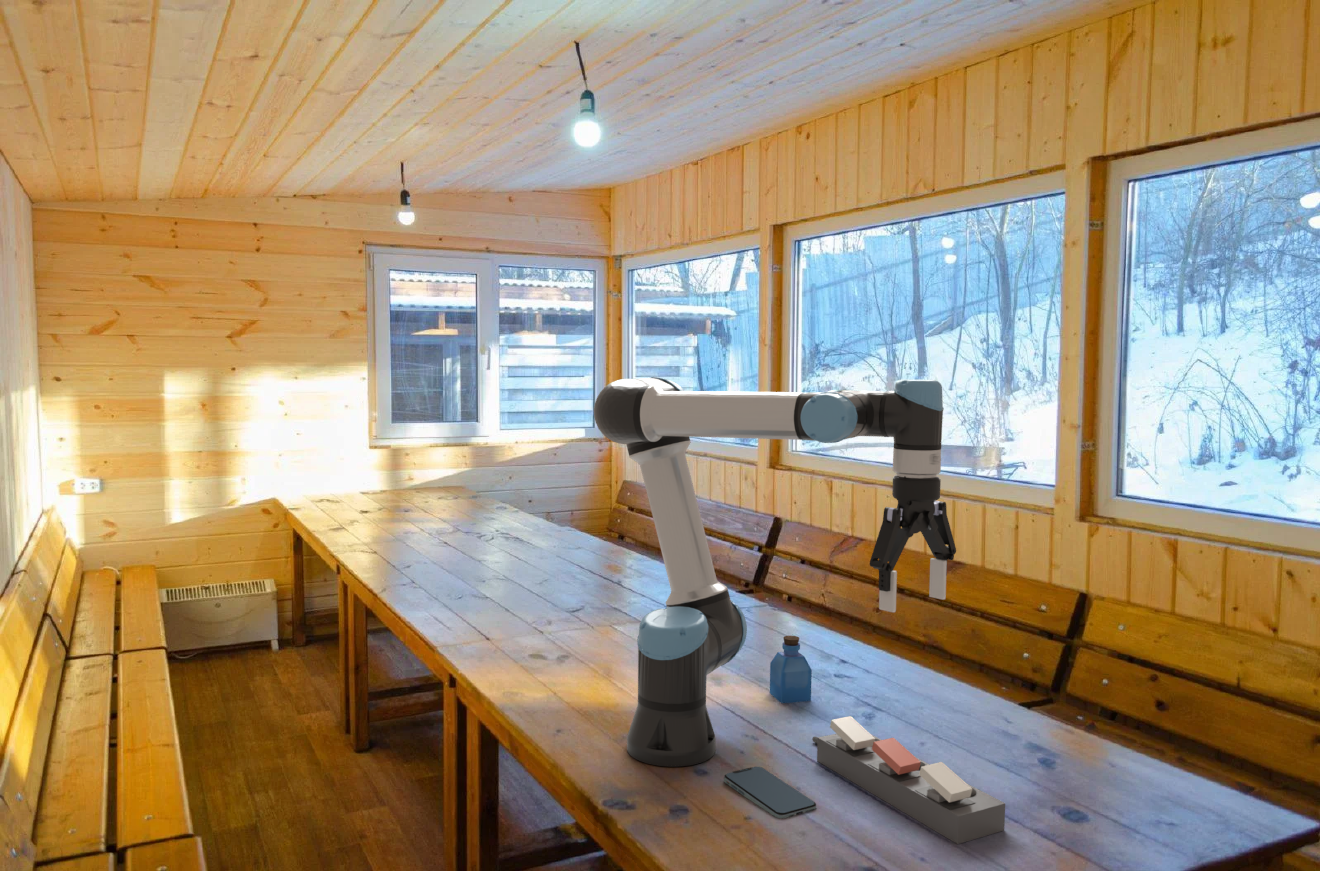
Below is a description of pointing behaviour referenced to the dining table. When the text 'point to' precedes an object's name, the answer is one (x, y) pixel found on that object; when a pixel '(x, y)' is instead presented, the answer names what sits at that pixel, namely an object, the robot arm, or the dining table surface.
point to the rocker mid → (896, 756)
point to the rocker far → (852, 732)
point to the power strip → (913, 792)
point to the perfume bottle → (790, 673)
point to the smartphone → (769, 792)
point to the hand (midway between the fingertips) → (913, 604)
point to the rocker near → (945, 782)
